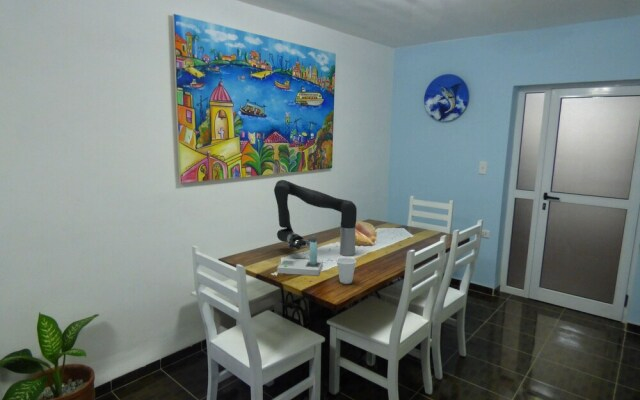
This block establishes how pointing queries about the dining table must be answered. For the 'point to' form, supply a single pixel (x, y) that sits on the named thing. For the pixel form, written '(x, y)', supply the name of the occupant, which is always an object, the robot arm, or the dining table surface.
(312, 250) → the plug
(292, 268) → the panel
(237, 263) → the dining table surface
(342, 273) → the cup
